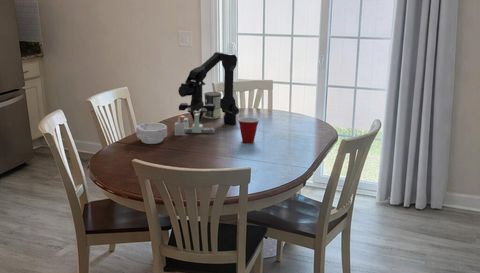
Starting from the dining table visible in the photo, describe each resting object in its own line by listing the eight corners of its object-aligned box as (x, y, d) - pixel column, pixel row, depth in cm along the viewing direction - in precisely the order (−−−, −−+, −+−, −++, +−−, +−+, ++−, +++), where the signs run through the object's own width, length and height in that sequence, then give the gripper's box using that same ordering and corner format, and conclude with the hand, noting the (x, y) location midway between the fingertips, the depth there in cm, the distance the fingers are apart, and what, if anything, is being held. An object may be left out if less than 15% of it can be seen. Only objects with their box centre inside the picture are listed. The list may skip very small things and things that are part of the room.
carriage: (202, 130, 266) (202, 113, 263) (201, 132, 261) (201, 115, 258) (193, 130, 266) (193, 113, 263) (192, 132, 261) (191, 115, 259)
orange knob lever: (185, 124, 265) (185, 115, 263) (184, 126, 261) (184, 117, 260) (179, 124, 265) (178, 115, 264) (177, 126, 261) (177, 117, 260)
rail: (214, 131, 264) (214, 128, 264) (213, 133, 262) (213, 129, 261) (187, 131, 265) (187, 127, 265) (186, 132, 262) (186, 129, 262)
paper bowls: (167, 145, 241) (167, 129, 238) (136, 146, 238) (135, 130, 236) (167, 136, 255) (166, 121, 253) (137, 137, 253) (136, 122, 250)
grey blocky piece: (188, 128, 271) (188, 117, 269) (184, 135, 257) (183, 124, 256) (179, 128, 271) (179, 117, 269) (174, 135, 258) (174, 124, 256)
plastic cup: (259, 139, 253) (260, 116, 250) (258, 145, 243) (258, 121, 239) (238, 138, 254) (238, 115, 251) (236, 144, 244) (236, 121, 240)
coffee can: (204, 118, 291) (204, 95, 287) (204, 114, 301) (203, 92, 297) (222, 118, 292) (222, 95, 288) (220, 114, 302) (220, 91, 298)
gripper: (176, 96, 250) (177, 126, 255) (212, 97, 249) (212, 127, 254) (180, 92, 261) (181, 120, 266) (215, 93, 260) (215, 121, 264)
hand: (197, 122), depth 262 cm, fingers closed on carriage, 2 cm apart
